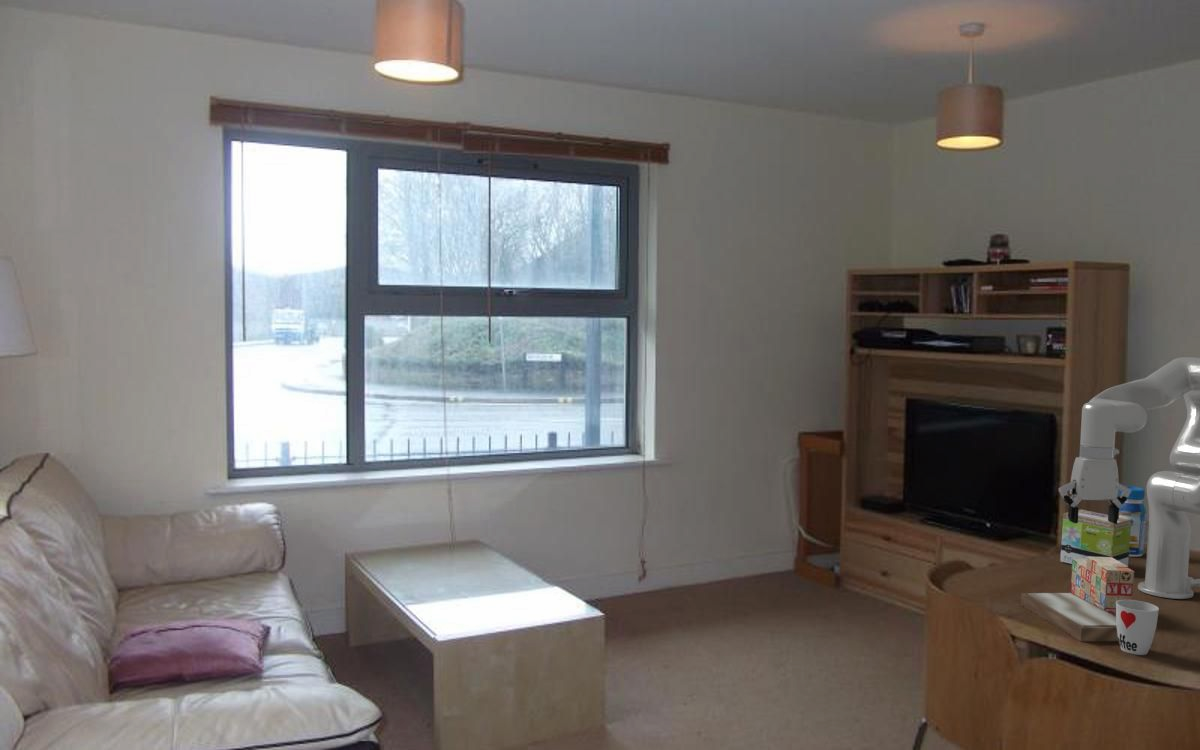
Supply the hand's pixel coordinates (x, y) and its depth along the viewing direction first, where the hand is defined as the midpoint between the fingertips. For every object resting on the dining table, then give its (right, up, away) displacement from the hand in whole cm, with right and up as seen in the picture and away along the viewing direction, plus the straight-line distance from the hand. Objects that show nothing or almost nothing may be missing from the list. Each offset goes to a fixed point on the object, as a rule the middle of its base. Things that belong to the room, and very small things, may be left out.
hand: (1092, 522), depth 246 cm
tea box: (+20, -19, +40) cm, 48 cm away
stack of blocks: (+2, -21, +1) cm, 21 cm away
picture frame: (-10, -22, -11) cm, 26 cm away
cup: (-6, -23, -30) cm, 39 cm away
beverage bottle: (+38, -18, +55) cm, 69 cm away
